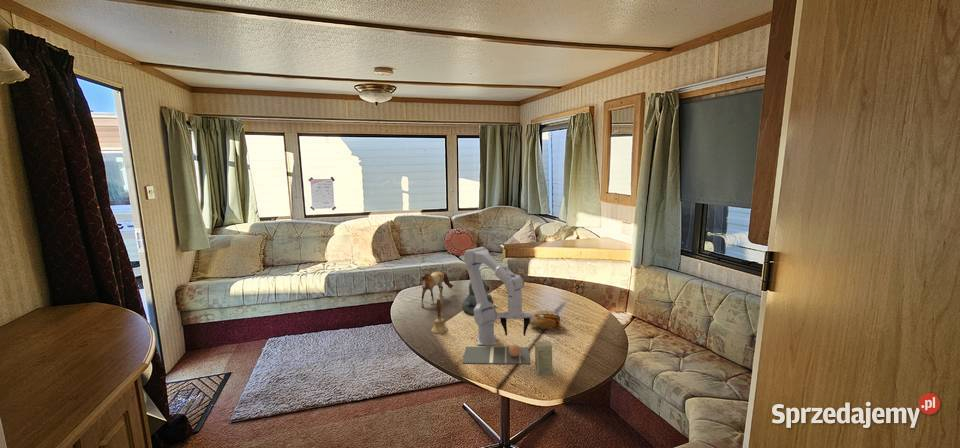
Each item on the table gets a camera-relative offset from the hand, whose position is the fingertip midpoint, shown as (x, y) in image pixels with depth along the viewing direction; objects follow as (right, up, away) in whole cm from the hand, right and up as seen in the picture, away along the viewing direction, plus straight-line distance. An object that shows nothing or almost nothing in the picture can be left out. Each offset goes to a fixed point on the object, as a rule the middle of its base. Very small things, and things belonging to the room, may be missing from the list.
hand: (515, 334), depth 166 cm
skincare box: (+10, -12, -12) cm, 20 cm away
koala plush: (-16, -2, +53) cm, 56 cm away
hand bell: (-35, -6, +29) cm, 46 cm away
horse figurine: (-39, 0, +68) cm, 78 cm away
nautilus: (+19, -5, +27) cm, 33 cm away
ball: (0, -7, 0) cm, 7 cm away
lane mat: (-8, -10, +2) cm, 13 cm away
